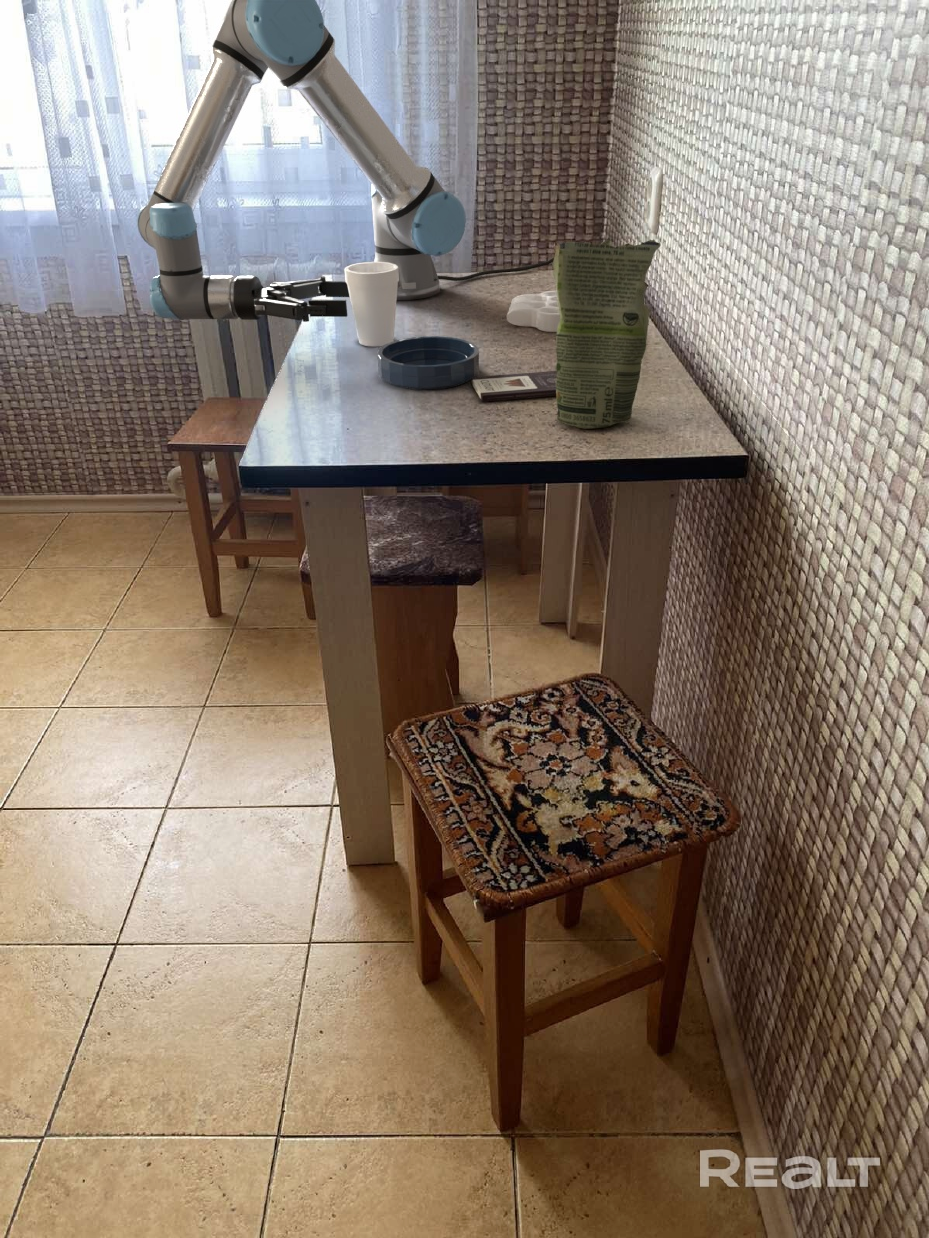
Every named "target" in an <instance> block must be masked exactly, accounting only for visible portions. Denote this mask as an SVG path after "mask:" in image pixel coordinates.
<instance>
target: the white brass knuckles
mask: <svg viewBox="0 0 929 1238" xmlns="http://www.w3.org/2000/svg"><path fill="white" fill-rule="evenodd" d="M508 307H509V308H508V311H507V313H506V321H507V322H508V323H509V324H511V325H513V326H519V327H530V328H531V327H532V328H536V329H537V330H539V331H542V332H548V333H557V328H558V325H559V322H560V312H559V306H558V299H557V289H555V290H546V291H543V292H541V293H536V294H535V293H533V294H531V293H525V294H519V295H516V296H515V297H514V298H512V299H511V303H510V305H509V306H508Z"/></svg>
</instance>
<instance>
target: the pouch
mask: <svg viewBox="0 0 929 1238" xmlns="http://www.w3.org/2000/svg"><path fill="white" fill-rule="evenodd" d="M660 247H661V242H657V241H656V240H655V239H650V240H646V241H644V242H641V243H639V244H637V245H636V244H635V245H634V244H630V243H625V244H623V245H619V246H617V245H616V246H615V247H614V246H612V240H611V238H610V237H607V238H606V239H605V240H604V241H603V242H602V243H600V244H591V243H589V242H584V241H567V242H562V243H559V244H555V245H554V246H553V250H554V257H553V258H554V260H553V262H552V263H551V265H552V268H553V271H552V275H553V280H554V281H555V287H556V288H555V289H556V290H557V299H558V306H559V312H560V322H559V325H558V328H557V332H556V334H555V338H556V343H555V346H556V347H555V353H556V354H555V355H556V365H555V371H557V378H556V394H557V396H555V397H556V399H555V401H556V406H557V407H556V408H557V413H556V415H557V419H556V420H557V421H558V422H560V423H562V424H564V425H566V426H570V427H575V428H579V429H583V430H589V429H600V428H601V429H602V428H608V427H611V426H613V425H616V424H619V423H623V422H624V423H628V424H629V423H630V420H631V418H632V413H633V405H634V402H635V399H636V394H637V391H638V386H639V381H640V377H641V371H642V363H643V358H644V355H645V354H646V353H645V352H646V351H647V337H648V329H649V326H650V312H651V311H650V309H649V307H648V305H645V303H644V297H645V296H644V294H645V293H646V292H647V289H648V287H649V286H650V285H649V284H647V282H646V278H647V277H646V276H647V272H648V270H649V269H650V267H651V265H652V262H653V260H654V259H653V258H654V255H655V253H656V252H657V250H658V249H659V248H660Z"/></svg>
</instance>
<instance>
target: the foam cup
mask: <svg viewBox="0 0 929 1238" xmlns="http://www.w3.org/2000/svg"><path fill="white" fill-rule="evenodd" d="M344 279H345V280H344V281H346V283H347V286H348V291H349V296H350V297H349V300H350V306H351V310H352V316H353V319H354V320H353V321H354V325H355V329H356V335H357V339H358V343H359V344H360V345H362V346H365V347H382V346H384V345H385V344H388V343H391V342H393V341H395V340H394V338H395V330H396V329H395V328H396V314H397V313H396V311H397V301H398V300H397V287H398V281H399V271H398V266H397V265H396V264H392V263H387V262H374V261H365V262H364V261H363V262H358V263H357V262H356V263H352V264H349V265H347V266H346V267H344Z"/></svg>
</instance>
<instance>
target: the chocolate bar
mask: <svg viewBox="0 0 929 1238" xmlns="http://www.w3.org/2000/svg"><path fill="white" fill-rule="evenodd" d="M556 378H557V370H549V371H536V372H523V373H521V372H520V373H509V374H496V375H495V374H494V375H483V376H482V375H481V376H475V377H471V379H470V383H471V385H472V388H473V389H474V391H475V392H476V394H477V395H478V397H479V399H480V401H481V402H482V403H483V402H484V403H485V402H496V401H507V400H508V401H509V400H522V399H531V398H532V399H533V398H535V399H536V398H545V397H557V394H556Z"/></svg>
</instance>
